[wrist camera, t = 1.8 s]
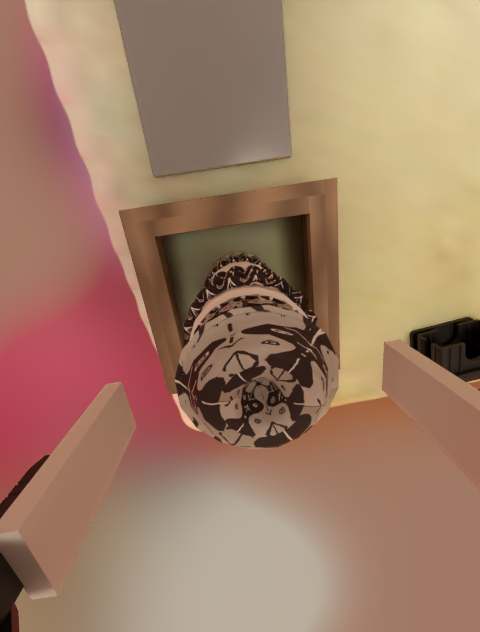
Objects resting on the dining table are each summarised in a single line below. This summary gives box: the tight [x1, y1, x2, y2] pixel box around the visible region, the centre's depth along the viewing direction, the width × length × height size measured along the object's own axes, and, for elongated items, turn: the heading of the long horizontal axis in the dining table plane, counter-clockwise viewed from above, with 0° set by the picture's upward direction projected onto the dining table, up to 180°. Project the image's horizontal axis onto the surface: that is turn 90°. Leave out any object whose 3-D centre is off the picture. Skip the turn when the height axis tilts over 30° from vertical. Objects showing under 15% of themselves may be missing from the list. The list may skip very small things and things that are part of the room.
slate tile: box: [114, 0, 292, 178], centre depth 27 cm, size 16×16×1 cm
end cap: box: [410, 317, 480, 382], centre depth 36 cm, size 10×7×7 cm
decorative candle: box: [175, 252, 339, 450], centre depth 23 cm, size 9×9×25 cm
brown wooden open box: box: [119, 178, 340, 394], centre depth 31 cm, size 20×20×8 cm
